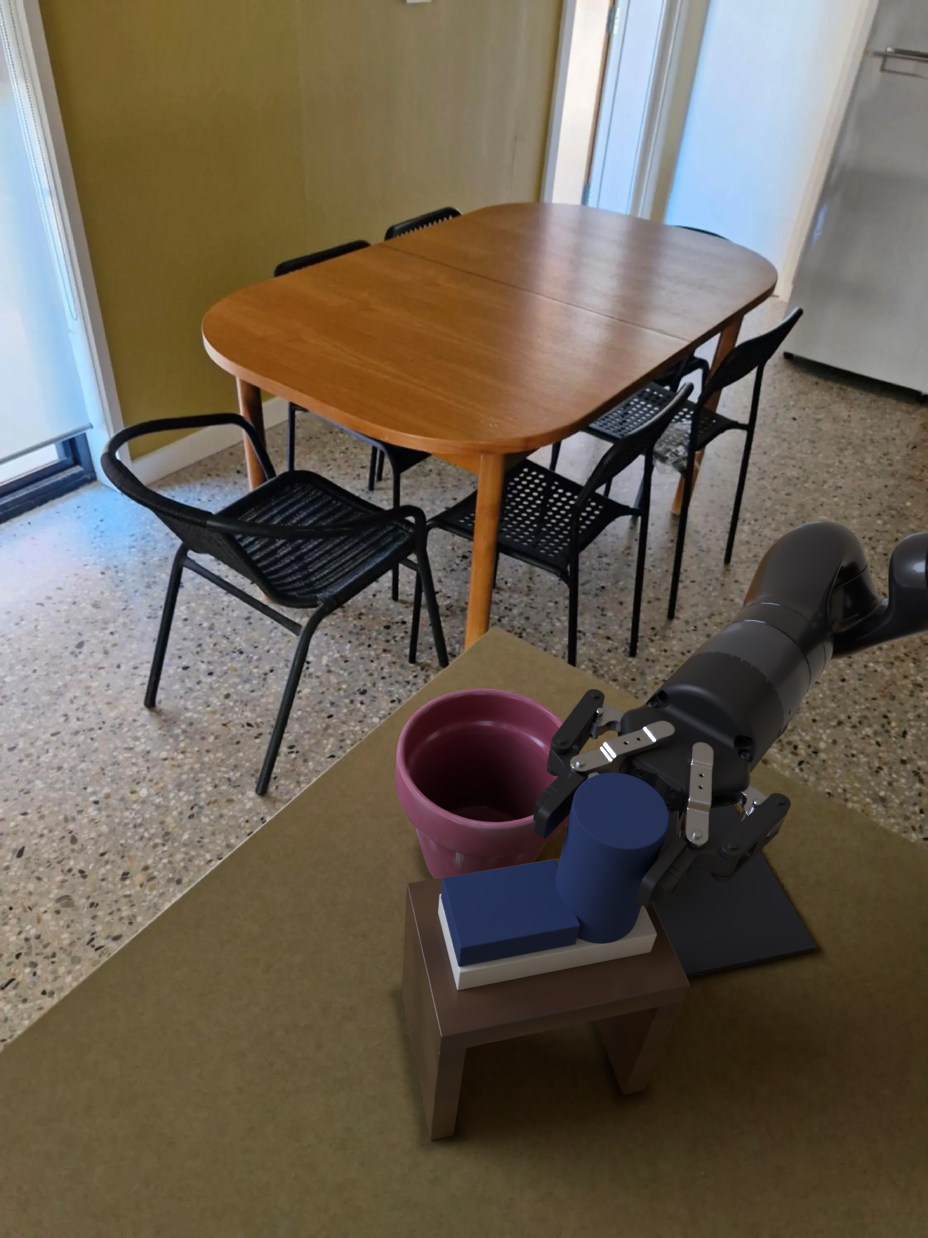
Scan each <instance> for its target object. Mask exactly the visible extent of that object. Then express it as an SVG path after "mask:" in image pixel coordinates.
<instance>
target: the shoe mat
mask: <svg viewBox="0 0 928 1238" xmlns="http://www.w3.org/2000/svg"><path fill="white" fill-rule="evenodd" d="M668 812H669V811H668ZM677 813H678V811H674V813H671V812H669V826H668V829H667V832H666V835H665V838H664V841H663V844H662V847H661V850H660V853H659V856H658V858H659V857H660V856H661V855H662V853H663V852H664V851H665V850H666V848H667V847H668V846H669V844H670V843H671V842H672V841H673V839H674V838H675V837H676V829H677ZM740 823H741V820H740V814H738V812H737V810H736V808H735V807H734V805H729V806H723V807H718V808H712V809H710V811H709V831H708V836H710V837H713V838H717V839H720V840H723V839H724V838H725V837H726V836H727V835H728V834H729V833H730V832H731V831H732V830H733V829H734V828H736V827H737V826H738V825H739V824H740ZM657 860H658V859H657ZM652 903H653V905H654V907H655V909H656V912H657V914H658V916H659V918H660V920H661V922H662V925H663V927H664V929H665V931H666V933H667V936H668V938H669V940H670V942H671V944H672V946H673V949H674V951H675V953H676V955H677V957H678V960H679V962H680V964H681V966H682V968H683V970H684V973H685V975H686V977H687V979H688V978H693V977H697V976H702V975H706V974H707V975H708V974H712V973H716V972H721V971H726V970H731V969H736V968H740V967H745V966H750V965H755V964H760V963H764V962H770V961H775V960H779V959H783V958H788V957H793V956H799V955H802V954H803V955H804V954H808V953H812V952H815V951H816V950H817V948H818V947H817V945H816V943H815V942H814V939H813V938H812V936H811V935H810V933H809V931H808V930H807V928H806V927H805V925H804V923H803V921H802V920H801V918H800V916H799V914H798V912H797V911H796V909H795V908H794V906H793V904H792V903H791V901H790V900H789V897H788V896H787V895H786V892H785V890H784V889H783V887H782V886H781V884H780V883H779V880H778V879H777V877H776V875H775V874H774V873H773V871H772V869H771V867H770V866H769V864H768V863H767V861H766V859H765V856H764V855H763V854H762V852H761V851H760V852H759V853H758V854H757V855H756V856H755V857H754V858H752V859H751V860H750V861H749V862H748V863H747V864H746V865H745V866H744V867H743V868H742V869H741V870H740V871H739V872H738V873H737V874H736V875H735V876H734V877H733V878H732V879H731V880H730V881H728V882H719V881H717V880H716V879H714V878H713V877H712V875H711V873H710V872H708V871H705V870H701V869H697V870H693V871H691V872H690V873H689V875H688V876H687V877H686V879H685V880H684V881H683V883H682V884H681V885H680V887H679V888H678V889H677V891H676V892H675V893H674V895H673V896H672V897H671V899H670V900H669V901H668V902H666V903H664V904H662V905H659V904H657V903H656V902H654V901H653V902H652Z"/></svg>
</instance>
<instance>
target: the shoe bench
mask: <svg viewBox="0 0 928 1238" xmlns="http://www.w3.org/2000/svg"><path fill="white" fill-rule="evenodd" d="M553 859H555V860H556V862H557V865H559V861H560V857H557V858H551V859H549V860H553ZM547 860H548V859H545V860H543V861H547ZM541 861H542V860H539V861H537V862H541ZM535 862H536V861H535ZM535 862H532V863H535ZM526 864H529V863H526ZM520 865H524V864H520ZM514 866H518V865H514ZM509 867H512V866H509ZM503 868H506V867H503ZM497 869H500V868H497ZM491 870H494V869H491ZM485 871H488V870H485ZM479 872H482V871H479ZM473 873H476V872H473ZM467 874H470V873H467ZM461 875H464V874H461ZM455 876H458V875H455ZM449 877H452V876H449ZM443 878H446V877H443ZM443 878H437V879H434V878H432V879H431V878H430V879H425V880H420V881H416V882H407V884H406V893H405V896H406V897H405V914H404V915H405V917H404V937H403V938H404V939H403V957H402V958H403V959H402V983H401V999H402V1005H403V1011H404V1015H405V1020H406V1025H407V1030H408V1036H409V1040H410V1045H411V1050H412V1055H413V1060H414V1067H415V1071H416V1076H417V1083H418V1087H419V1092H420V1096H421V1102H422V1106H423V1112H424V1117H425V1123H426V1128H427V1133H428V1137H429V1140H430V1141H435V1140H439V1139H443V1138H449V1137H452V1136H454V1135H455V1131H456V1130H455V1129H456V1121H457V1115H458V1110H459V1109H458V1108H459V1102H460V1096H461V1095H460V1094H461V1087H462V1080H463V1076H464V1075H463V1074H464V1068H465V1059H466V1053H467V1049H468V1048H473V1047H477V1046H482V1045H486V1044H491V1043H496V1042H501V1041H506V1040H510V1039H515V1038H519V1037H523V1036H529V1035H533V1034H537V1033H542V1032H547V1031H552V1030H557V1029H561V1028H566V1027H572V1026H577V1025H580V1024H585V1023H590V1022H594V1021H595V1022H596V1025H597V1027H598V1030H599V1033H600V1035H601V1038H602V1041H603V1045H604V1048H605V1050H606V1053H607V1055H608V1058H609V1061H610V1064H611V1067H612V1069H613V1072H614V1074H615V1077H616V1080H617V1083H618V1086H619V1088H620V1091H621V1094H622V1095H623V1096H625V1095H630V1094H633V1093H634V1094H635V1093H638V1092H642V1091H644V1090H645V1089H646V1087H647V1084H648V1082H649V1079H650V1077H651V1075H652V1073H653V1070H654V1068H655V1066H656V1064H657V1062H658V1059H659V1057H660V1054H661V1052H662V1050H663V1048H664V1046H665V1043H666V1041H667V1039H668V1037H669V1034H670V1032H671V1029H672V1026H673V1025H674V1022H675V1021H676V1018H677V1017H678V1014H679V1011H680V1009H681V1007H682V1004H683V1001H684V999H685V998H686V995H687V993H688V991H689V988H690V986H691V984H690V982H689V979H688V978H687V977H686V975H685V973H684V970H683V968H682V966H681V964H680V962H679V960H678V957H677V955H676V953H675V951H674V949H673V946H672V944H671V942H670V940H669V938H668V936H667V933H666V931H665V929H664V927H663V925H662V922H661V920H660V918H659V916H658V914H657V912H656V909H655V907H654V905H653V903H651V904H650V906H649V907H648V908H645V909H646V911H647V913H648V915H649V918H650V920H651V922H652V924H653V926H654V929H655V931H656V933H657V936H656V938H655V941H654V944H653V946H652V949H651V952H648V953H643V954H638V955H633V956H628V957H623V958H618V959H613V960H608V961H603V962H598V963H593V964H588V965H583V966H578V967H573V968H568V969H563V970H558V971H553V972H548V973H543V974H538V975H533V976H527V977H522V978H517V979H512V980H507V981H502V982H497V983H492V984H487V985H482V986H477V987H472V988H467V989H462V990H457V987H456V983H455V979H454V975H453V971H452V967H451V962H450V958H449V954H448V950H447V946H446V942H445V938H444V934H443V930H442V926H441V922H440V918H439V914H438V908H439V897H440V894H441V890H442V879H443Z"/></svg>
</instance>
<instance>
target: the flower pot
mask: <svg viewBox="0 0 928 1238" xmlns="http://www.w3.org/2000/svg"><path fill="white" fill-rule="evenodd" d="M563 723H564V721H563V719H561V718H560V717H559V716H558V714H556V713H555V712H554V711H552V710H551V709H550V708H548V707H547V706H546V705H545V704H542V703H541V702H539V701H537V700H535V699H533V698H531V697H528V696H526V695H523V694H520V693H517V692H514V691H509V690H505V689H504V690H503V689H498V688H497V689H496V688H469V689H462V690H457V691H452V692H449V693H446V694H442V695H440V696H438V697H435V698H433V699H432V700H430V701H428V702H427V703H425V704H424V705H422V706H421V707H420V708H418V709H417V710H416V711H415V712H414V713H413V714H412V715H411V716H410V717H409V718H408V720H407V722H406V723H405V724H404V726H403V728H402V730H401V732H400V734H399V738H398V742H397V746H396V756H395V789H396V795H397V799H398V802H399V804H400V806H401V809H402V811H403V812H404V814H405V816H406V817H407V819H408V820H409V822H410V823H411V824H412V825H413V826H414V829H415V833H416V836H417V840H418V844H419V846H420V849H421V852H422V854H423V858H424V859H423V860H424V862H425V865H426V868H427V870H428V872H429V873H430V875H431V876H432V879H437V878H443V877H449V876H455V875H461V874H467V873H473V872H479V871H485V870H491V869H497V868H503V867H509V866H514V865H520V864H526V863H532V862H536V860H537V859H538V856H539V855H540V854H541V851H542V850H543V848H544V847H545V845H546V844H547V843H548V842H550V841H551V840H552V839H554V838H555V837H556V836H557V835H558V834H559V833H560V832H561V831H562V830H563V829H564V828H565V826H566V825H567V824H568V821H569V816H570V814H569V815H568V816H567V817H566V818H565V819H564V820H563V821H562V822H561V823H560V824H559V825H558V826H557V828H556V829H555V830H554V831H553V832H552V833H551V834H550V835H549V836H548V837H547V838H546V839H544V838H543V837H541V836H540V835H538V834H537V833H535V832H534V828H535V822H536V821H534V820H533V817H534V811H535V806H536V802H537V799H538V796H539V795H540V794H541V793H542V792H543V791H544V790H545V789H546V788H547V787H548V786H549V785H550V784H551V783H552V782H553V781H554V780H555V779H556V778H557V777H558V776H553V775H551V774H550V773H549V772H548V771H547V769H546V767H547V761H548V756H549V751H550V745H551V740H552V737H553V736H554V735H555V733H556V732H557V731H558V729H559V728H560V727H561V725H562V724H563ZM580 754H581V753H579V754H578V755H580Z"/></svg>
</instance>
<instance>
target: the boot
mask: <svg viewBox="0 0 928 1238" xmlns="http://www.w3.org/2000/svg"><path fill="white" fill-rule="evenodd" d="M566 825H567V826H566V830H565V834H564V839H563V843H562V848H561V853H560V857H559V858H560V861H559V865H557V862H556V860H555V859H556V858H552V859H553V860H550V859H546V860H547V861H544V860H540V861H541V862H538V861H535V863H529V864H524V865H518V866H512V867H506V868H500V869H494V870H488V871H482V872H476V873H470V874H464V875H458V876H452V877H446V878H443V879H442V890H441V894H440V897H439V908H438V914H439V918H440V922H441V926H442V930H443V934H444V938H445V942H446V946H447V950H448V954H449V958H450V962H451V967H452V971H453V975H454V979H455V983H456V987H457V990H462V989H467V988H472V987H477V986H482V985H487V984H492V983H497V982H502V981H507V980H512V979H517V978H522V977H527V976H533V975H538V974H543V973H548V972H553V971H558V970H563V969H568V968H573V967H578V966H583V965H588V964H593V963H598V962H603V961H608V960H613V959H618V958H623V957H628V956H633V955H638V954H643V953H648V952H651V949H652V946H653V944H654V941H655V938H656V936H657V933H656V931H655V929H654V926H653V924H652V922H651V920H650V918H649V915H648V913H647V911H646V909H645V907H644V906H642V905H641V904H639V903H638V902H636V901H635V899H636V895H637V892H638V889H639V886H640V884H641V881H642V880H643V878H644V876H645V875H646V873H647V872H648V871H649V870H650V868H651V867H652V866H653V865H654V863H655V862H656V861H657V859H658V856H659V853H660V850H661V847H662V844H663V841H664V838H665V835H666V832H667V829H668V826H669V812H668V808H667V806H666V803H665V801H664V800H663V798H662V797H661V795H660V794H659V793H658V792H657V791H656V790H655V789H654V788H653V787H652V786H650V785H649V784H647V783H646V782H644V781H642V780H640V779H638V778H636V777H634V776H630V775H627V774H622V773H603V774H598V775H595V776H593V777H591V778H589V779H587V780H586V781H584V782H583V783H582V784H581V785H580V786H579V787H578V789H577V791H576V792H575V795H574V798H573V803H572V807H571V812H570V816H569V820H568V822H567V824H566Z"/></svg>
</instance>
